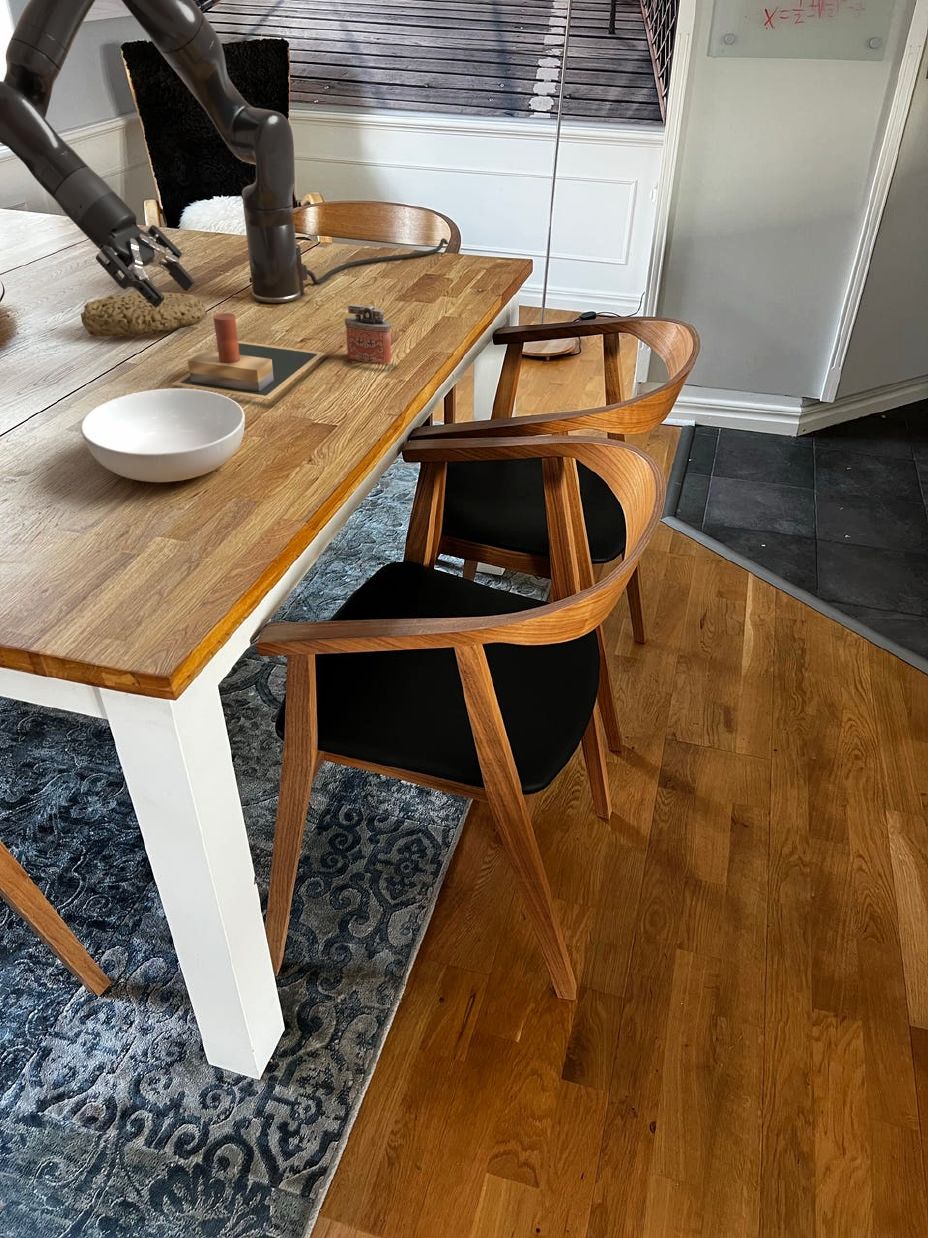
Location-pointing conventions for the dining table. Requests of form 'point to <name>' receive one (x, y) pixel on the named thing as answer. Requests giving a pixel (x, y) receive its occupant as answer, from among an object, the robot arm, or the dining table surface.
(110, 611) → the dining table surface
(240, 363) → the eraser
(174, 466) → the serving bowl
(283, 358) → the board
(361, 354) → the lighter
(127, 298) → the sponge
